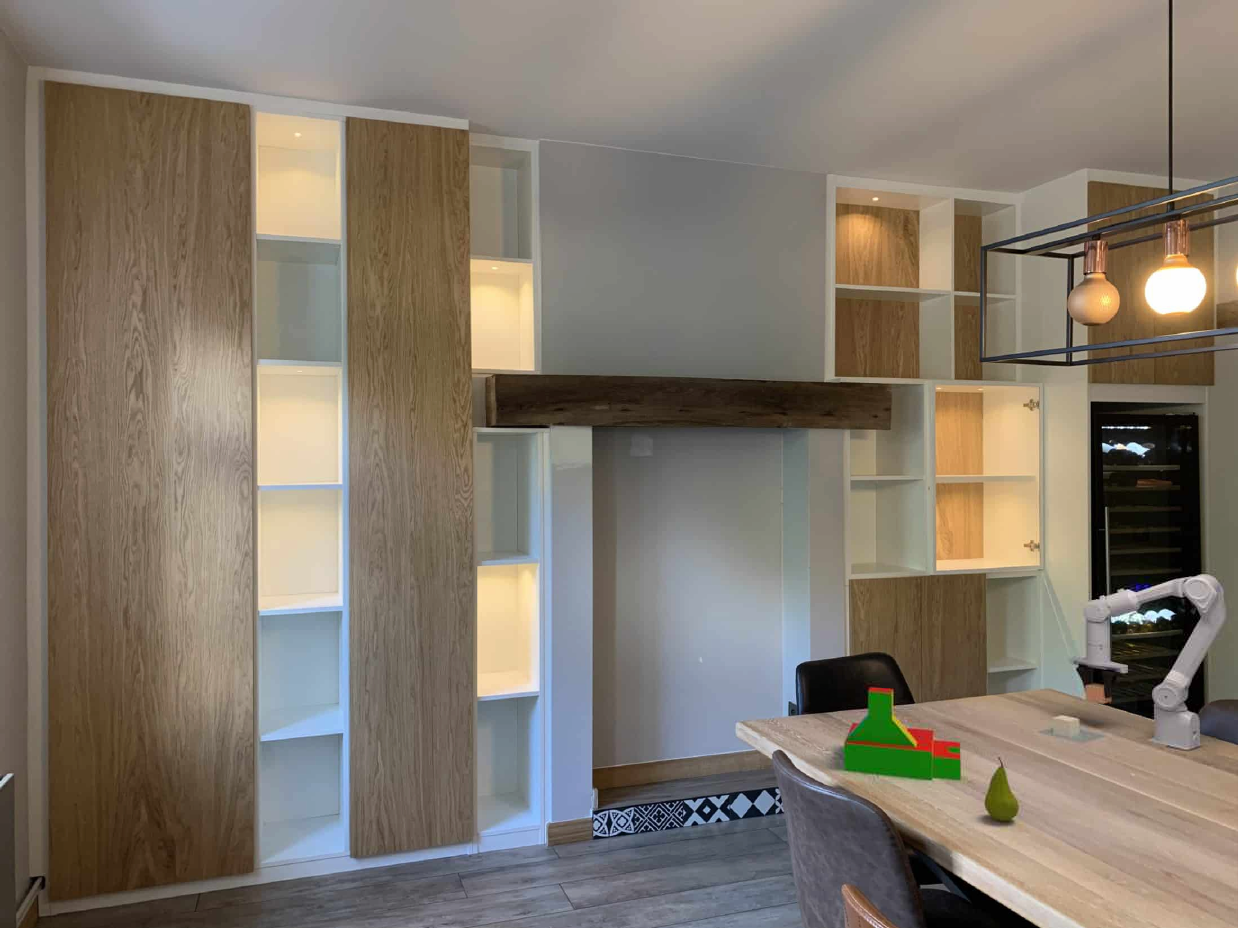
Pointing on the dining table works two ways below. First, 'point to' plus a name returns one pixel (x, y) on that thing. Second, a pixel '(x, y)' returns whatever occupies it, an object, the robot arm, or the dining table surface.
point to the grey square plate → (1081, 737)
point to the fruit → (1001, 797)
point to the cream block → (1066, 726)
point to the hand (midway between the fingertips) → (1098, 695)
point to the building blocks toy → (897, 745)
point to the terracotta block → (1096, 693)
